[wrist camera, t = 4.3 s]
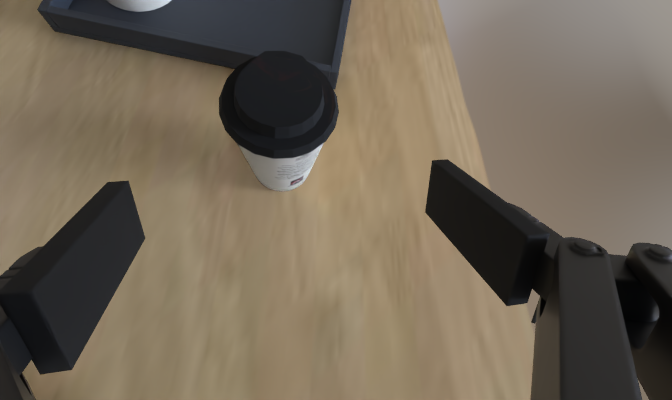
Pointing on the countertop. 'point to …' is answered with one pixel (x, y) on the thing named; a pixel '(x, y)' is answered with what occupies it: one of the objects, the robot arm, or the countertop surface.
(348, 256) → the countertop surface
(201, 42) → the cup tray
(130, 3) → the cream cup
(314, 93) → the coffee cup
